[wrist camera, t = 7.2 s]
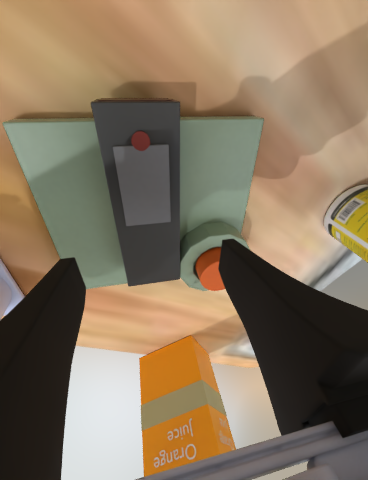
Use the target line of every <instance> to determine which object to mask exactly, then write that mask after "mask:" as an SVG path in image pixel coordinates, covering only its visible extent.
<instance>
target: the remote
mask: <svg viewBox="0 0 368 480" xmlns="http://www.w3.org/2000/svg"><path fill="white" fill-rule="evenodd" d="M91 107H92V112H93V117H94V122H95V127H96V131H97V136H98V141H99V146H100V151H101V156H102V161H103V165H104V170H105V175H106V180H107V185H108V190H109V195H110V200H111V204H112V209H113V214H114V219H115V224H116V229H117V234H118V239H119V243H120V248H121V253H122V258H123V263H124V268H125V273H126V277H127V282H128V286H135V285H142V284H149V283H156V282H163V281H170V280H177V279H180V102H178V101H176V100H173V99H168V98H101V99H96V100H95V101H93V102H91Z"/></svg>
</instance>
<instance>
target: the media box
mask: <svg viewBox="0 0 368 480" xmlns="http://www.w3.org/2000/svg"><path fill="white" fill-rule="evenodd" d="M263 122H264V119H263V118H260V117H256V116H205V117H180V277H181V279H182V280H183V281H184V282H185V283H186V284H187V285H188V286H189V287H191V288H195V289H198V290H202V291H207V290H208V289H206V288H204V287H203V286H202V284H201V282H200V279H199V277H198V274H197V271H196V262H197V259H198V258H199V257H200V255H201V254H203V253H204V252H205V251H207V250H209V249H212V248H216V247H221V246H222V240H226V239H235V240H236V241H238V242H239V243H241V244H242V245H243V246H245V247H246V248H248V249H249V247H248V245H247V243H246V241H245V239H244V238H243V237H242V235H241V231H242V226H243V221H244V216H245V211H246V206H247V201H248V196H249V191H250V186H251V181H252V177H253V172H254V167H255V162H256V157H257V152H258V147H259V142H260V137H261V132H262V127H263ZM3 126H4V128H5V131H6V133H7V135H8V138H9V140H10V142H11V145H12V147H13V149H14V152H15V154H16V156H17V159H18V161H19V163H20V166H21V168H22V170H23V173H24V175H25V177H26V180H27V182H28V184H29V187H30V189H31V191H32V194H33V196H34V198H35V201H36V203H37V205H38V208H39V210H40V212H41V215H42V217H43V219H44V222H45V224H46V226H47V229H48V231H49V233H50V236H51V238H52V240H53V243H54V245H55V247H56V250H57V252H58V254H59V257H60V259H64V258H72V257H75V259H76V262H77V265H78V267H79V270H80V273H81V275H82V278H83V281H84V283H85V286H86V289H90V288H97V287H104V286H111V285H118V284H126V283H128V282H127V277H126V273H125V268H124V263H123V258H122V253H121V248H120V243H119V239H118V234H117V229H116V224H115V219H114V214H113V209H112V204H111V200H110V195H109V190H108V185H107V180H106V175H105V170H104V165H103V161H102V156H101V151H100V146H99V141H98V136H97V131H96V127H95V122H94V118H45V119H12V120H8V121H5V122H3ZM249 250H250V249H249Z"/></svg>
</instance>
